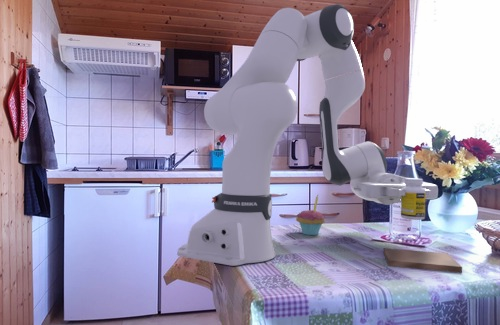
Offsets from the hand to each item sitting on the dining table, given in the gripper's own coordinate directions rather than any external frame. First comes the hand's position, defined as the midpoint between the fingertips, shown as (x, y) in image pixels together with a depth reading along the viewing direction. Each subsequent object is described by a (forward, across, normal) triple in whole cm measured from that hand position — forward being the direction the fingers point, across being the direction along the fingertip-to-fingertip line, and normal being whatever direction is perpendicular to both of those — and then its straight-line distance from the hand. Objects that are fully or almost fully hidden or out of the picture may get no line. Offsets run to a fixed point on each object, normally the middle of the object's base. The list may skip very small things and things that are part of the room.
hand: (415, 193), depth 86 cm
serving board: (+7, -3, +15) cm, 17 cm away
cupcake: (-24, -18, +15) cm, 34 cm away
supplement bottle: (-1, 0, +6) cm, 6 cm away
